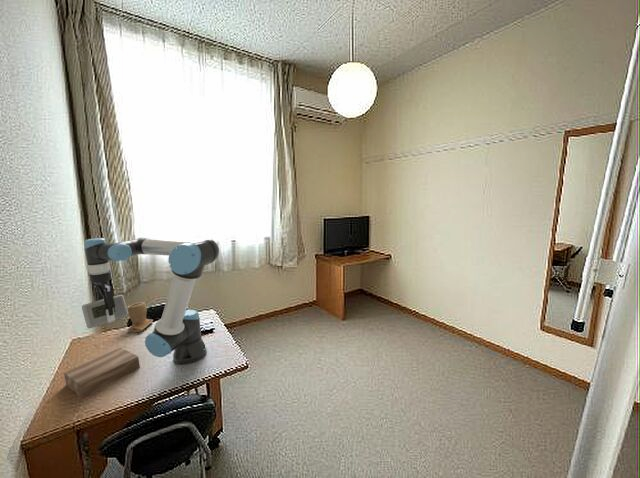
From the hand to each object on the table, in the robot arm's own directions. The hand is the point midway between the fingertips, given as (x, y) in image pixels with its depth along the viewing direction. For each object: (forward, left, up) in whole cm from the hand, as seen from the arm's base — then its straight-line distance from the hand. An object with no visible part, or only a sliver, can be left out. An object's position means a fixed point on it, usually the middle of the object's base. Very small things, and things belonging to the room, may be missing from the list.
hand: (107, 319), depth 131 cm
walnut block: (-6, +7, -23) cm, 25 cm away
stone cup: (+29, -26, -23) cm, 45 cm away
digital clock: (-1, 0, -1) cm, 1 cm away
